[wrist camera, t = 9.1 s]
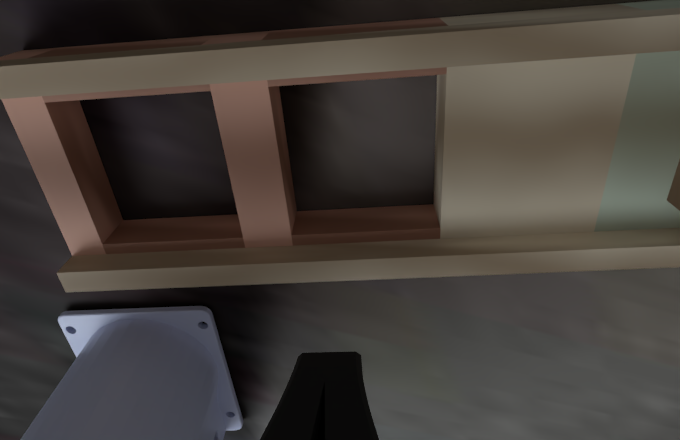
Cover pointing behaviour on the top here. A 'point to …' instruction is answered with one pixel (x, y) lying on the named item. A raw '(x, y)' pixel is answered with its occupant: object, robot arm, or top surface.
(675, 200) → the walnut block
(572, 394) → the top surface
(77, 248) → the trap lane
